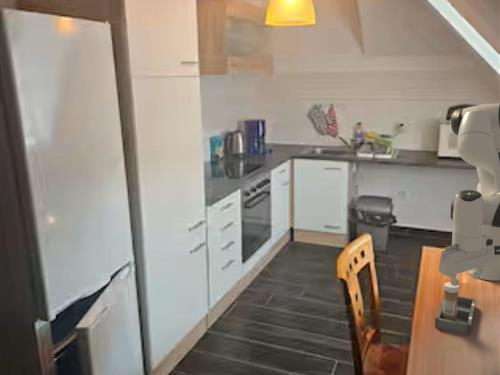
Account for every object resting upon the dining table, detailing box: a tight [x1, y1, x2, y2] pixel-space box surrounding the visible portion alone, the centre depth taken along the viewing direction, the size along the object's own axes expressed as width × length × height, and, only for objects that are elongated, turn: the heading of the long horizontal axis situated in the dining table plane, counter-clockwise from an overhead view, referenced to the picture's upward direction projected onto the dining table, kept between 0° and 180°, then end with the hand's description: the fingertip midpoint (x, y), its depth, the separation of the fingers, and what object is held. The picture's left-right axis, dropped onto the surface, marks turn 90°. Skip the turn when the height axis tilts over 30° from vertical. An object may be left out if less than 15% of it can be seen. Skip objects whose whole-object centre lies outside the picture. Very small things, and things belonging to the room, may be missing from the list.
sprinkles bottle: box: [442, 281, 460, 322], centre depth 158 cm, size 5×5×13 cm
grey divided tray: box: [434, 295, 477, 336], centre depth 162 cm, size 20×10×4 cm, turn 150°
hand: (465, 281), depth 153 cm, fingers open, 8 cm apart
